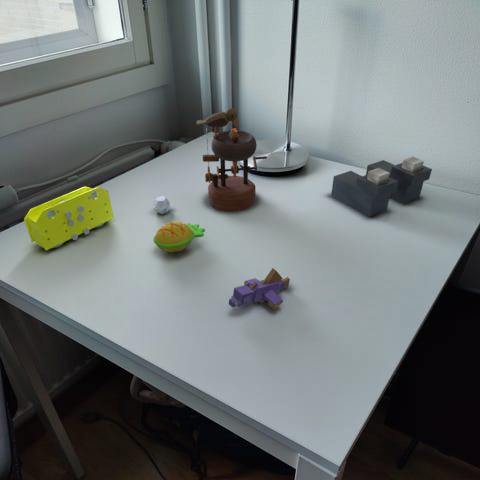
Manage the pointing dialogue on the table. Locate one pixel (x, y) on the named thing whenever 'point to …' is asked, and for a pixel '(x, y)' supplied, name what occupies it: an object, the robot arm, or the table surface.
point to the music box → (232, 149)
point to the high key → (378, 176)
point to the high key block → (363, 192)
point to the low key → (412, 164)
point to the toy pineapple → (177, 236)
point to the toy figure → (260, 291)
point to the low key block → (403, 180)
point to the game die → (161, 205)
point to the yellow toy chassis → (68, 216)
